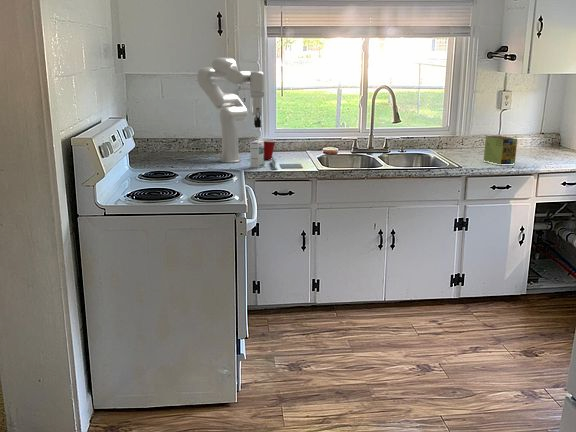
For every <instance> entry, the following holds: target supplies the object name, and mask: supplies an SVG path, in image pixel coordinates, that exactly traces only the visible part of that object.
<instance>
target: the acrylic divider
mask: <svg viewBox="0 0 576 432" xmlns="http://www.w3.org/2000/svg"><path fill="white" fill-rule="evenodd" d="M269 165H272V166H271V170H272V171H278V167H276V159H275V157H274V155H273V154H272V159H271V161H269Z"/></svg>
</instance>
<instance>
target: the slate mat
mask: <svg viewBox="0 0 576 432" xmlns="http://www.w3.org/2000/svg"><path fill="white" fill-rule="evenodd" d="M279 166H280V169H304V167H303V166H302V164H301V163H279Z"/></svg>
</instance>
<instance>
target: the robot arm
mask: <svg viewBox="0 0 576 432" xmlns="http://www.w3.org/2000/svg"><path fill="white" fill-rule="evenodd" d="M196 75H197V76H196V79H197V83H198V85H199V87H200V89H201V90H202V91H203V92H204V93H205V94H206V95H207V97H208V98H209V101H210V102H211V103H212V104H213V106H214V108H216V109H217V110H218V111H219V119H220V124H221V126H220V127H221V151H222V152H221V153H219V154H217V153H215V154H214V158H215V159H219V162H221V163H228V164H229V163H230V164H231V163H233V162H234V163H239V162H242V159H241V157H239V155H240V154H239V129H238V127H237V125H236V124H238V123H239V124H240V123H244V122H246V121H248V119H249V116H250V115H249V110H248V109H247V107H246V106H245V104H244V103H243V101H242V99H240V97H239V95H237V94H235V93H232V92H229V93H228V92H227V93H226V92H223V91H222V90H221V87H220V86H218V84H216V82H219V83H220V82H224V81H226V80H227V81H228V82H229V83H231V84H233V85H236V86H249V87H250V88H249V90H250V91H249V93H250V95H249V97H250V99H251V109H252V110H251V115H252V117H254V118H253V119H254V121H253V122H254V127H255V128H261V127H262V120H261V118H262V117H261V116H263V98H265V74H264V72H263V71H253V70H239V67H238V65H237V62H236V60H235V59H234V58H232V57H216V58H215V59H214V60H212V63H211V66H207V67H202V68H199V70H198V72H197V74H196Z"/></svg>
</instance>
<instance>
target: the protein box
mask: <svg viewBox="0 0 576 432" xmlns="http://www.w3.org/2000/svg"><path fill="white" fill-rule="evenodd" d="M517 146H518V138H514V137H508V136H502V135H490V136H485V142H484V150H483V151H484V153H483V160H485V161H489V162H493V163H497V164H513V163H516V154H517Z"/></svg>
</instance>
